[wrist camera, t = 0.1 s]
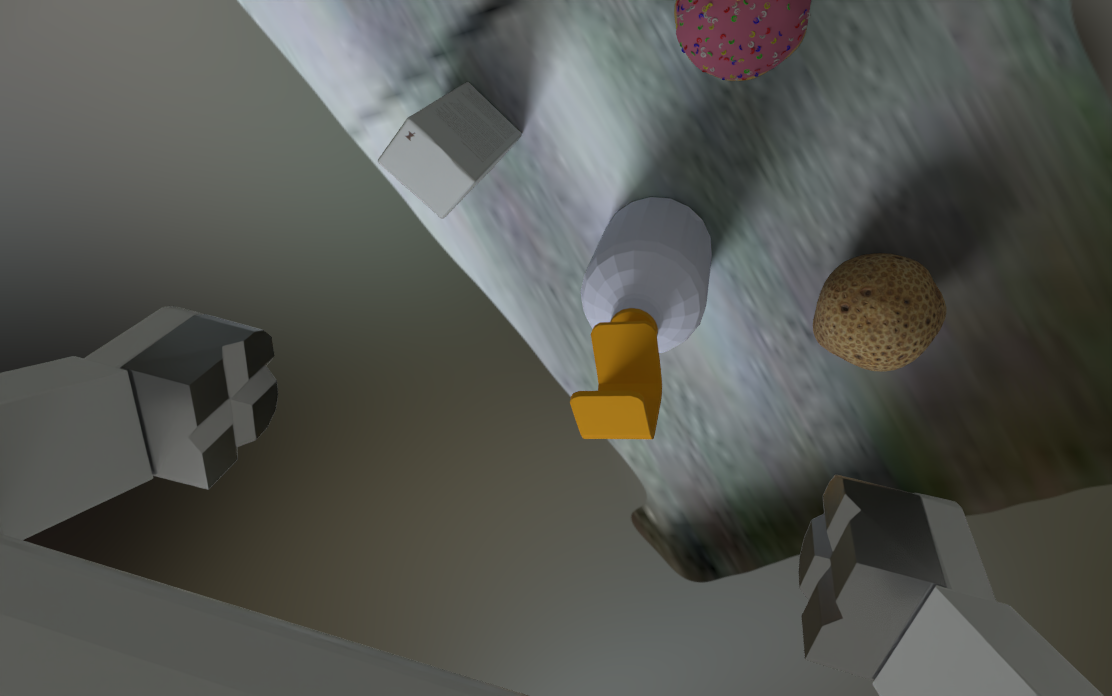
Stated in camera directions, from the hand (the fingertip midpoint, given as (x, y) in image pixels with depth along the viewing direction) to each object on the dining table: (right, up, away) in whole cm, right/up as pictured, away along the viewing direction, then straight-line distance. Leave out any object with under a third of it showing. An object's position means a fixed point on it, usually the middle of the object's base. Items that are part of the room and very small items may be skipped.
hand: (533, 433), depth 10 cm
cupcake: (+13, +25, +39) cm, 48 cm away
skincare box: (-6, +19, +48) cm, 52 cm away
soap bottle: (+9, +10, +49) cm, 51 cm away
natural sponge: (+25, +7, +47) cm, 54 cm away
